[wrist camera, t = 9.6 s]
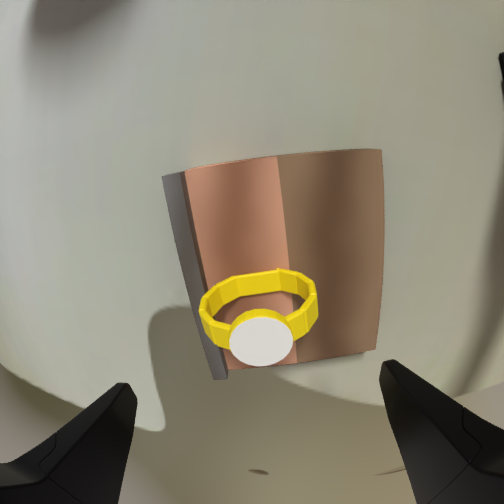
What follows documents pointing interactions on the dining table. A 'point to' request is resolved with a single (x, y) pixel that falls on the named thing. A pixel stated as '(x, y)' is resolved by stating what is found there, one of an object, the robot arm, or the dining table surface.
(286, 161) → the copper slab
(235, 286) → the watch
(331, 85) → the dining table surface
